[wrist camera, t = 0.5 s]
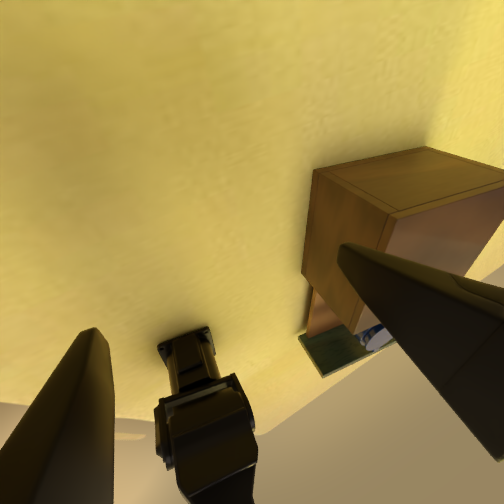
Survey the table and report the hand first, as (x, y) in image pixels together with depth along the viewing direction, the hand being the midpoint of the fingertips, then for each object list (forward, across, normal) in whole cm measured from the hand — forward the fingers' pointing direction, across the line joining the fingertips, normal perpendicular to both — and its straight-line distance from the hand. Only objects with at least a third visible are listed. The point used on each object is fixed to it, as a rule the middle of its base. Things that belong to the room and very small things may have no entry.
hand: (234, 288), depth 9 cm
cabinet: (+14, -20, +10) cm, 26 cm away
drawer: (+13, -20, +27) cm, 36 cm away
